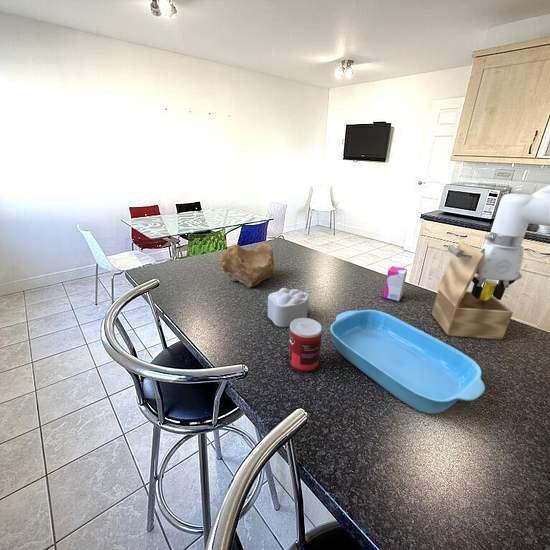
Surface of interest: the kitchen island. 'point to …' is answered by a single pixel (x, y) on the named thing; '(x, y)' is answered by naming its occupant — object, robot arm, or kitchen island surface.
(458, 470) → the kitchen island surface
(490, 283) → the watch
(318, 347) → the canned food
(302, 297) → the lumpy-topped squat cylinder
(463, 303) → the chest
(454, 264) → the lid
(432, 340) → the casserole dish
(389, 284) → the supplement box
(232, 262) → the jagged tan rock
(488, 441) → the kitchen island surface
